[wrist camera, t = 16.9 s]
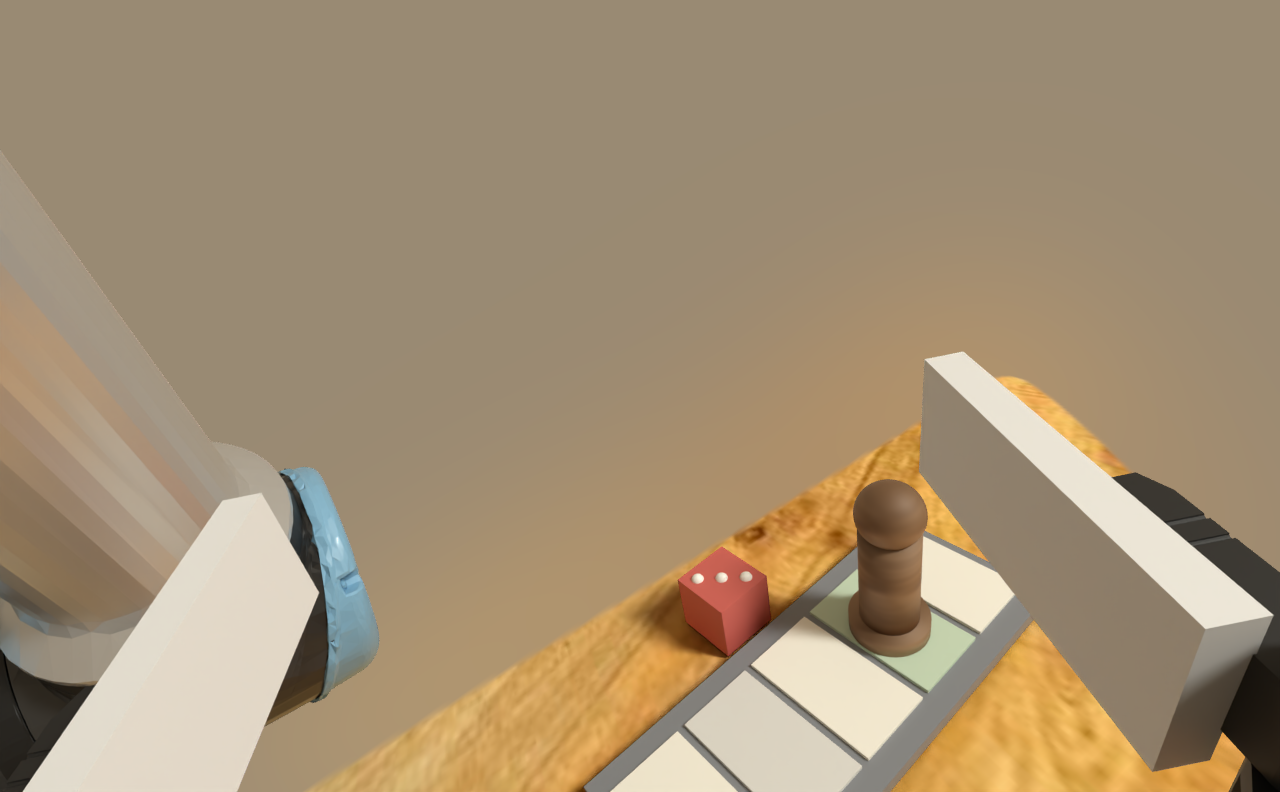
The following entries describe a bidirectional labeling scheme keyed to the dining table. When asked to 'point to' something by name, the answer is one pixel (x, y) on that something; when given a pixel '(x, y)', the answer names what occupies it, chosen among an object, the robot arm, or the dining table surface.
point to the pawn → (890, 570)
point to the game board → (829, 692)
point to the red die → (725, 600)
